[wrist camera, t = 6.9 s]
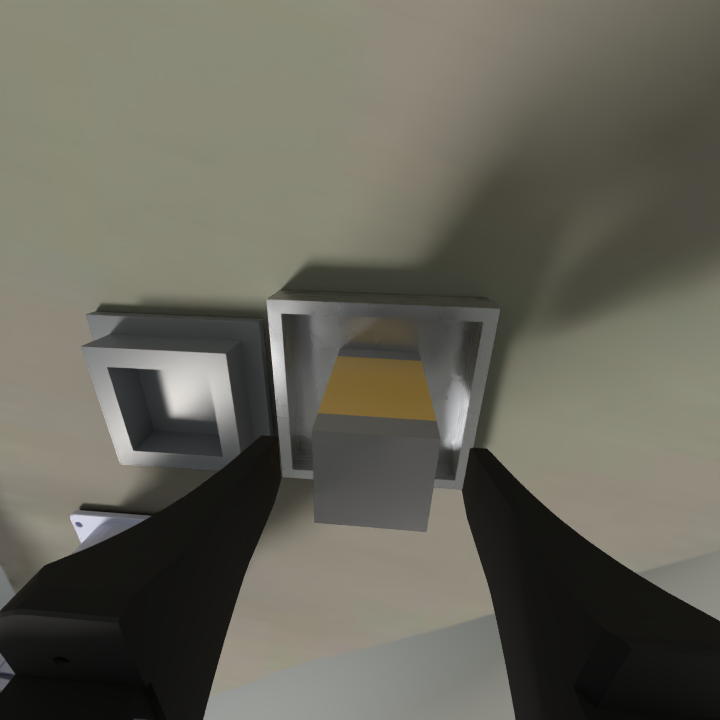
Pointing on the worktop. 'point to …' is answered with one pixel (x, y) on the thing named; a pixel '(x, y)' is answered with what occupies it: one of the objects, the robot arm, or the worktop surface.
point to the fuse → (375, 443)
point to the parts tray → (381, 333)
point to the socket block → (180, 386)
